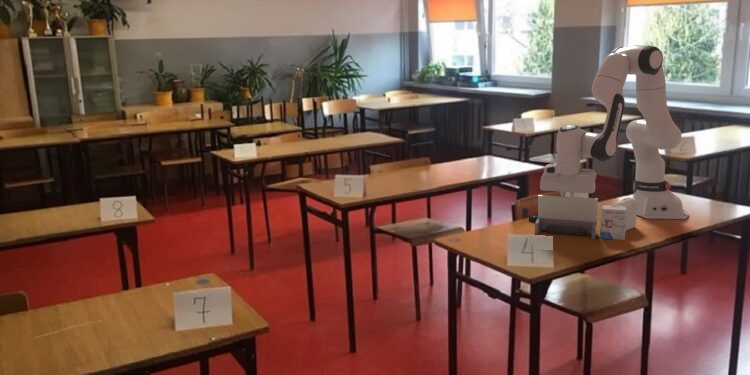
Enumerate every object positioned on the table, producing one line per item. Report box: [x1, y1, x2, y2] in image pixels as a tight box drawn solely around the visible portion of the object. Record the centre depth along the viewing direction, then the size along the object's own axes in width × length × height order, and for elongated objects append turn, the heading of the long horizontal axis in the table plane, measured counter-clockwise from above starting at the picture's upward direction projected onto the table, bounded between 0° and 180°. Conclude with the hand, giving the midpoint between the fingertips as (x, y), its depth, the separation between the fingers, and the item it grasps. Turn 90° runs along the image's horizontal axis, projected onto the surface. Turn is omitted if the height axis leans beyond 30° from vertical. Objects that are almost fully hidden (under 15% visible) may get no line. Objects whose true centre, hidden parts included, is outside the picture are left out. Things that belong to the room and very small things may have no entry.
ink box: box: [599, 204, 627, 241], centre depth 237 cm, size 9×5×12 cm, turn 75°
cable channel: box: [534, 218, 598, 240], centre depth 244 cm, size 22×8×4 cm, turn 67°
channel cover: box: [537, 194, 599, 223], centre depth 245 cm, size 22×10×1 cm
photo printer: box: [615, 197, 637, 232], centre depth 246 cm, size 10×4×12 cm, turn 129°
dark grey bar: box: [545, 225, 587, 236], centre depth 244 cm, size 15×3×3 cm, turn 67°
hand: (566, 202), depth 245 cm, fingers closed, pressing on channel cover
